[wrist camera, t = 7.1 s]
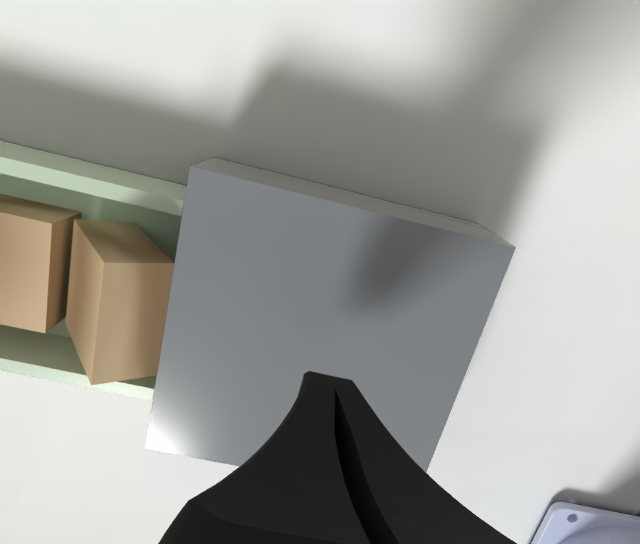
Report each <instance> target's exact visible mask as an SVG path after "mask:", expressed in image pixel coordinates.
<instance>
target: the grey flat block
mask: <svg viewBox="0 0 640 544" xmlns="http://www.w3.org/2000/svg"><path fill="white" fill-rule="evenodd" d="M515 248H516V247H515V246H513V245H511V244H510V243H508V242H507V241H505V240H503V239H502V238H500V237H498V236H497V235H495V234H493V233H492V232H490V231H489V230H487V229H485V228H484V227H482V226H480V225H479V224H477V223H474V222H470V221H466V220H462V219H458V218H454V217H450V216H446V215H443V214H439V213H435V212H431V211H427V210H423V209H419V208H415V207H411V206H407V205H403V204H399V203H395V202H391V201H387V200H383V199H379V198H375V197H371V196H367V195H363V194H359V193H355V192H351V191H347V190H343V189H339V188H335V187H331V186H327V185H323V184H319V183H315V182H311V181H307V180H303V179H299V178H295V177H291V176H287V175H283V174H279V173H275V172H271V171H267V170H264V169H260V168H256V167H252V166H248V165H244V164H240V163H236V162H232V161H228V160H224V159H220V158H216V157H214V158H211V159H209V160H206V161H203V162H200V163H198V164H195V165H192V166H190V169H189V175H188V181H187V187H186V194H185V200H184V206H183V213H182V219H181V225H180V232H179V238H178V244H177V251H176V257H175V263H174V270H173V276H172V282H171V289H170V295H169V301H168V308H167V314H166V321H165V327H164V334H163V340H162V346H161V353H160V359H159V366H158V372H157V377H156V383H155V390H154V396H153V402H152V409H151V415H150V421H149V428H148V434H147V440H146V447H145V449H151V450H156V451H161V452H167V453H172V454H177V455H182V456H188V457H193V458H198V459H204V460H209V461H214V462H220V463H225V464H230V465H235V466H241V465H243V464H244V463H245V462H246V461H247V460H248V459H249V458H250V457H251V456H253V455H254V454H255V453H256V452H257V451H258V450H259V449H260V448H261V447H262V446H263V445H264V444H265V442H266V441H267V440H268V439H269V438H270V437H271V436H272V434H273V433H274V432H275V431H276V430H277V428H278V427H279V426H280V424H281V423H282V421H283V420H284V418H285V417H286V416H287V414H288V413H289V411H290V410H291V408H292V406H293V404H294V402H295V401H296V399H297V397H298V393H299V390H300V386H301V382H302V379H303V375H304V373H306V372H308V371H312V372H317V373H321V374H326V375H331V376H335V377H340V378H345V379H349V380H353V382H354V383H355V385H356V386H357V387H358V389H359V390H360V392H361V393H362V395H363V396H364V398H365V399H366V401H367V402H368V404H369V405H370V407H371V408H372V409H373V411H374V412H375V414H376V415H377V416H378V418H379V419H380V421H381V422H382V423H383V425H384V426H385V427H386V429H387V430H388V431H389V432H390V434H391V435H392V436H393V437H394V439H395V440H396V441H397V442H398V443H399V444H400V446H401V447H402V448H403V449H404V450H405V452H406V453H407V454H408V455H409V456H410V457H411V458H412V459H413V460H414V461H415V462H416V463H417V464H418V465H419V466H420V467H421V468H422V469H423V470H424V471H425V472H427V469H428V467H429V464H430V462H431V459H432V457H433V454H434V452H435V449H436V447H437V444H438V442H439V439H440V437H441V434H442V432H443V429H444V426H445V424H446V421H447V419H448V416H449V414H450V411H451V409H452V406H453V404H454V401H455V399H456V396H457V394H458V391H459V389H460V386H461V384H462V381H463V379H464V376H465V374H466V371H467V369H468V366H469V364H470V361H471V359H472V356H473V354H474V351H475V349H476V346H477V344H478V341H479V338H480V336H481V333H482V331H483V328H484V326H485V323H486V321H487V318H488V316H489V313H490V311H491V308H492V306H493V303H494V301H495V298H496V296H497V293H498V291H499V288H500V286H501V283H502V281H503V278H504V276H505V273H506V271H507V268H508V266H509V263H510V261H511V258H512V256H513V253H514V250H515Z"/></svg>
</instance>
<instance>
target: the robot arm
mask: <svg viewBox="0 0 640 544" xmlns="http://www.w3.org/2000/svg"><path fill="white" fill-rule="evenodd" d="M158 544H517V543H515V542H514V541H512V540H510V539H509V538H507V537H506V536H504V535H503V534H501V533H500V532H498V531H497V530H496V529H494V528H493V527H491V526H490V525H489V524H487V523H486V522H484V521H483V520H482V519H480V518H479V517H477V516H476V515H475V514H473V513H472V512H471V511H470V510H468V509H467V508H466V507H464V506H463V505H462V504H461V503H459V502H458V501H457V500H456V499H455V498H453V497H452V496H451V495H450V494H449V493H448V492H446V491H445V490H444V489H443V488H442V487H441V486H439V485H438V484H437V483H436V482H435V481H434V480H433V479H432V478H431V477H430V476H429V475H428V474H427V473H426V472H425V471H424V470H423V469H422V468H421V467H420V466H419V465H418V464H417V463H416V462H415V461H414V460H413V459H412V458H411V457H410V456H409V455H408V454H407V453H406V452H405V450H404V449H403V448H402V447H401V446H400V444H399V443H398V442H397V441H396V440H395V439H394V437H393V436H392V435H391V434H390V432H389V431H388V430H387V429H386V427H385V426H384V425H383V423H382V422H381V421H380V419H379V418H378V416H377V415H376V414H375V412H374V411H373V409H372V408H371V407H370V405H369V404H368V402H367V401H366V399H365V398H364V396H363V395H362V393H361V392H360V390H359V389H358V387H357V386H356V385H355V383H354V382H353V380H349V379H345V378H340V377H335V376H331V375H326V374H321V373H317V372H312V371H308V372H306V373H304V375H303V379H302V382H301V386H300V390H299V393H298V397H297V399H296V401H295V402H294V404H293V406H292V408H291V410H290V411H289V413H288V414H287V416H286V417H285V418H284V420H283V421H282V423H281V424H280V426H279V427H278V428H277V430H276V431H275V432H274V433H273V434H272V436H271V437H270V438H269V439H268V440H267V441H266V442H265V444H264V445H263V446H262V447H261V448H260V449H259V450H258V451H257V452H256V453H255V454H254V455H253V456H251V457H250V458H249V459H248V460H247V461H246V462H245V463H244V464H243V465H241V466H240V467H239V468H237V469H236V470H235V471H233V472H232V473H231V474H229V475H228V476H227V477H226V478H224V479H223V480H222V481H220V482H219V483H217V484H216V485H214V486H212V487H211V488H209V489H207V490H206V491H204V492H202V493H200V494H199V495H197V496H195V497H194V498H192V499H190V500H189V501H188V502H187V503H186V504H185V506H184V507H183V508H182V510H181V511H180V513H179V514H178V515H177V517H176V518H175V519H174V521H173V522H172V524H171V525H170V527H169V528H168V529H167V531H166V532H165V534H164V535H163V537H162V539H161V540H160V542H159V543H158ZM531 544H640V517H638V516H633V515H628V514H623V513H618V512H613V511H607V510H602V509H597V508H592V507H587V506H582V505H577V504H571V503H566V502H556V503H554V504H552V505H551V507H550V508H549V510H548V512H547V514H546V515H545V517H544V519H543V521H542V523H541V525H540V527H539V529H538V531H537V533H536V535H535V537H534V539H533V541H532V543H531Z"/></svg>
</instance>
